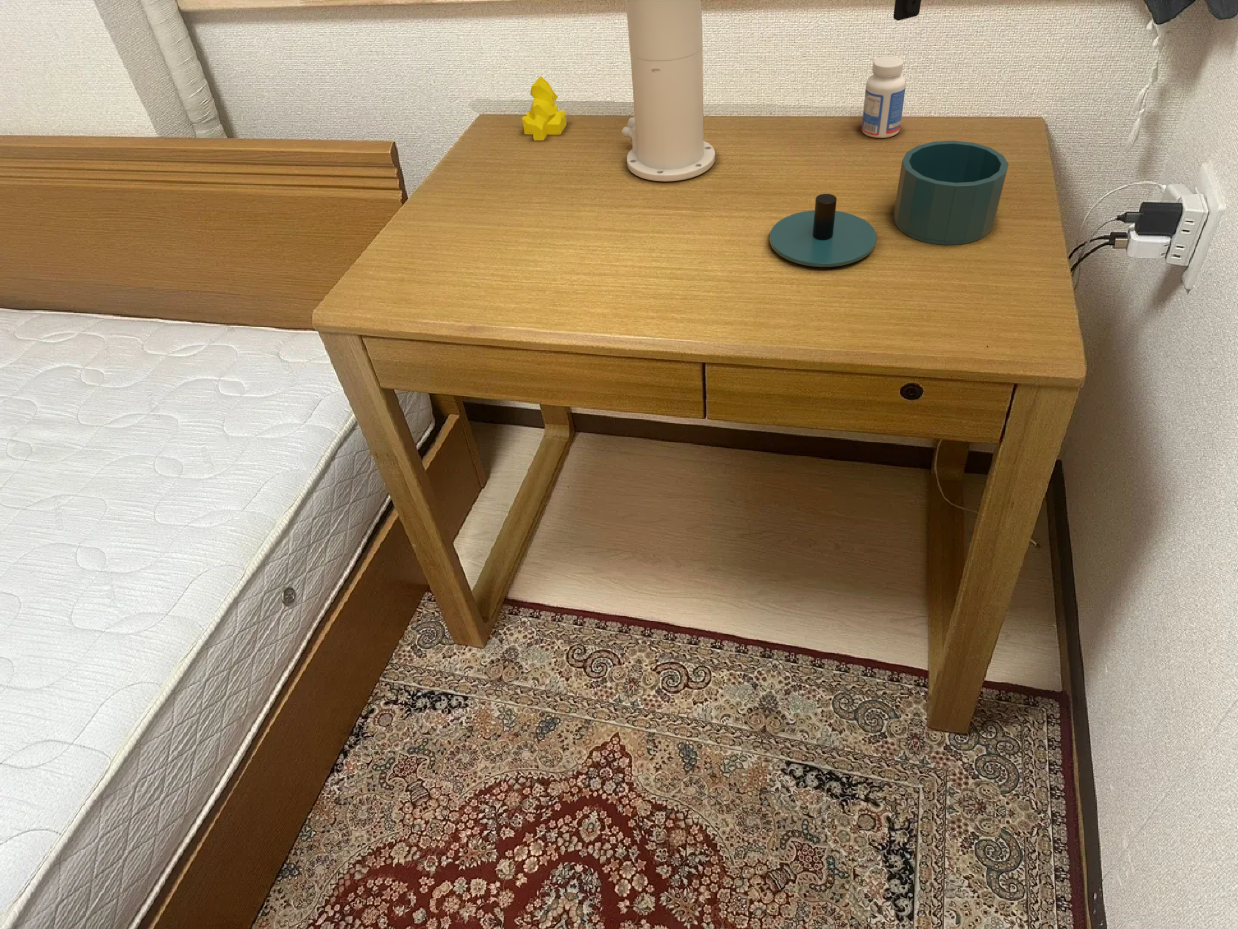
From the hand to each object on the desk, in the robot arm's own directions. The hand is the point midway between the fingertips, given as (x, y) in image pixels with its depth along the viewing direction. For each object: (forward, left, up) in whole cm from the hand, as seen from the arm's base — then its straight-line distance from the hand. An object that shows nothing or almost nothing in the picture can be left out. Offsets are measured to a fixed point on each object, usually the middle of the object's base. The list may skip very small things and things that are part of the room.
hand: (880, 6), depth 102 cm
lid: (+8, -19, -20) cm, 28 cm away
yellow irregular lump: (-46, -19, -21) cm, 54 cm away
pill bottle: (-5, +11, -21) cm, 24 cm away
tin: (+16, -5, -20) cm, 26 cm away
